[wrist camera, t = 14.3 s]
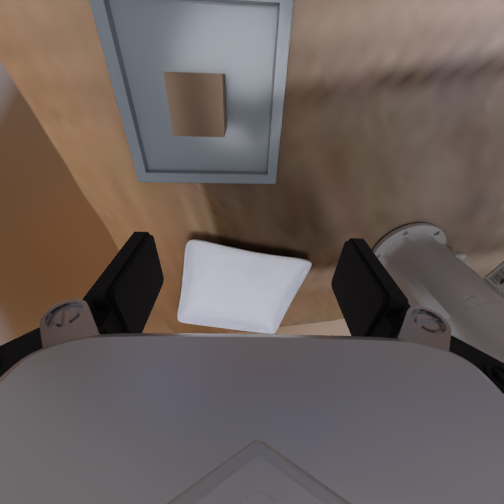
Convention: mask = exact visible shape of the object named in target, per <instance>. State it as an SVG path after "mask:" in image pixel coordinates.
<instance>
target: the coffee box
mask: <svg viewBox="0 0 504 504" xmlns="http://www.w3.org/2000/svg"><path fill="white" fill-rule="evenodd" d="M485 279H486V280H487V281H488V282H490V283H491V284H492V285H493V286H494V287H496V288H497V289H498V290H499V291H500V292H502V293H503V294H504V262H503V263H502V264H501V265H499V266H498V267H497V268H496V269H495V270H494V271H492V272H491V273H490V274H489V275H488V276H486V277H485Z"/></svg>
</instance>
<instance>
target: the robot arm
mask: <svg viewBox="0 0 504 504" xmlns="http://www.w3.org/2000/svg"><path fill="white" fill-rule="evenodd" d="M465 259H466V254H465V253H463V252H455V253H454V252H453V251H451V250H450V249H449V248H448V247H447V246H446V236H445V234H444V232H443V231H442V230H441V229H439V228H438V227H437V226H435V225H433V224H429V223H413V224H409V225H405V226H402V227H400V228H398V229H396V230H394V231H392V232H391V233H389V234H388V235H386V236H385V237H384V238H382V239H381V240H380V242H379V243H378V244H377V245H376V246H375V248H374V249H373V251H372V250H371V249H370V247H369V246H368V244H367V243H366V242H365V240H364V239H357V238H351V239H349V241H346V242H345V244H344V247H343V250H342V252H341V255H340V258H339V261H338V264H337V267H336V270H335V273H334V276H333V279H332V289H333V291H334V294H335V296H336V299H337V301H338V304H339V306H340V309H341V311H342V313H343V316H344V318H345V321H346V323H347V326H348V328H349V331H350V333H351V336H323V335H273V334H272V335H270V334H202V333H142V331H143V329H144V327H145V324H146V322H147V320H148V317H149V315H150V313H151V310H152V308H153V306H154V303H155V301H156V299H157V296H158V294H159V292H160V289H161V287H162V285H163V280H164V278H163V273H162V269H161V265H160V261H159V257H158V253H157V249H156V245H155V241H154V237H153V236H152V235H150V234H149V233H148V232H134V233H133V234H132V236H131V237H130V238H129V240H128V241H127V242H126V243H125V245H124V246H123V247H122V249H121V250H120V251H119V252H118V254H117V255H116V256H115V258H114V259H113V260H112V262H111V263H110V264H109V266H108V267H107V268H106V269H105V271H104V272H103V273H102V275H101V276H100V277H99V279H98V280H97V281H96V283H95V284H94V285H93V286H92V288H91V289H90V290H89V291H88V293H87V294H86V296H85V297H84V298H83V299H71V300H67V301H63V302H60V303H58V304H56V305H54V306H53V307H51V308H50V309H48V311H46V312H45V313H44V314H43V316H42V317H41V319H40V323H39V328H37V329H35V330H33V331H31V332H29V333H27V334H25V335H23V336H20V337H19V338H16V339H14V340H12V341H10V342H8V343H6V344H4V345H1V346H0V504H504V296H503V295H502V294H501V293H499V292H498V291H497V290H496V289H495V288H493V287H492V286H491V285H490V284H489V283H487V282H486V281H485V280H484V279H483V278H481V277H480V276H479V275H478V274H477V273H475V272H474V271H473V270H472V269H471V268H469V267H468V266H467V265H466V264H465V263H463V262H462V261H461V260H465Z"/></svg>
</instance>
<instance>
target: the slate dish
mask: <svg viewBox="0 0 504 504" xmlns="http://www.w3.org/2000/svg"><path fill="white" fill-rule="evenodd" d="M89 1H90V5H91V8H92V12H93V16H94V19H95V23H96V27H97V30H98V34H99V38H100V41H101V45H102V49H103V52H104V56H105V60H106V63H107V67H108V71H109V74H110V78H111V82H112V86H113V89H114V93H115V97H116V100H117V104H118V108H119V111H120V115H121V119H122V122H123V126H124V130H125V133H126V137H127V141H128V144H129V148H130V152H131V155H132V159H133V163H134V166H135V170H136V174H137V177H138V181H139V182H176V183H245V184H276V175H277V165H278V155H279V145H280V134H281V124H282V114H283V104H284V93H285V83H286V73H287V63H288V52H289V42H290V32H291V22H292V12H293V1H294V0H89ZM163 71H164V72H188V73H213V74H225V81H226V114H227V128H226V133H225V137H192V136H173V130H172V124H171V118H170V112H169V105H168V99H167V93H166V87H165V80H164V74H163Z"/></svg>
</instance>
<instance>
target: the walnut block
mask: <svg viewBox="0 0 504 504" xmlns="http://www.w3.org/2000/svg"><path fill="white" fill-rule="evenodd" d="M163 74H164V80H165V87H166V93H167V99H168V105H169V112H170V118H171V124H172V130H173V136H192V137H225V133H226V128H227V114H226V81H225V74H213V73H188V72H164V71H163Z"/></svg>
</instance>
